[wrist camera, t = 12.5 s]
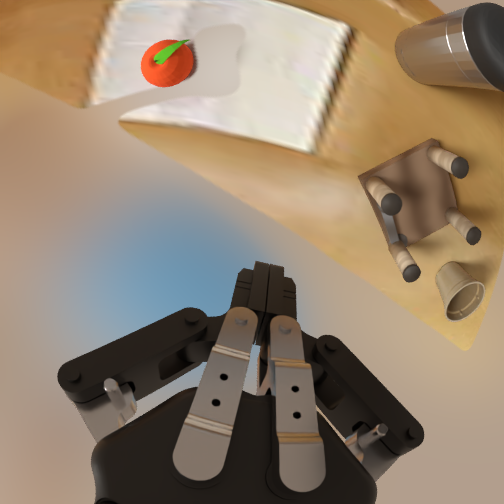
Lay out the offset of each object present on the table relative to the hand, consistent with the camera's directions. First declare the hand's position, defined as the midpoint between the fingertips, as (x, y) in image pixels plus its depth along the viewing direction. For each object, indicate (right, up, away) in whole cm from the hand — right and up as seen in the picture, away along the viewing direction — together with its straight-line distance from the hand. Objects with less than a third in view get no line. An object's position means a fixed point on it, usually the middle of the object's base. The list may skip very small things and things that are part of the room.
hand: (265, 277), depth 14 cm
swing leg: (+20, +5, +23) cm, 31 cm away
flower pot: (+38, -3, +30) cm, 48 cm away
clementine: (-11, +28, +16) cm, 34 cm away
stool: (+24, +10, +23) cm, 35 cm away
